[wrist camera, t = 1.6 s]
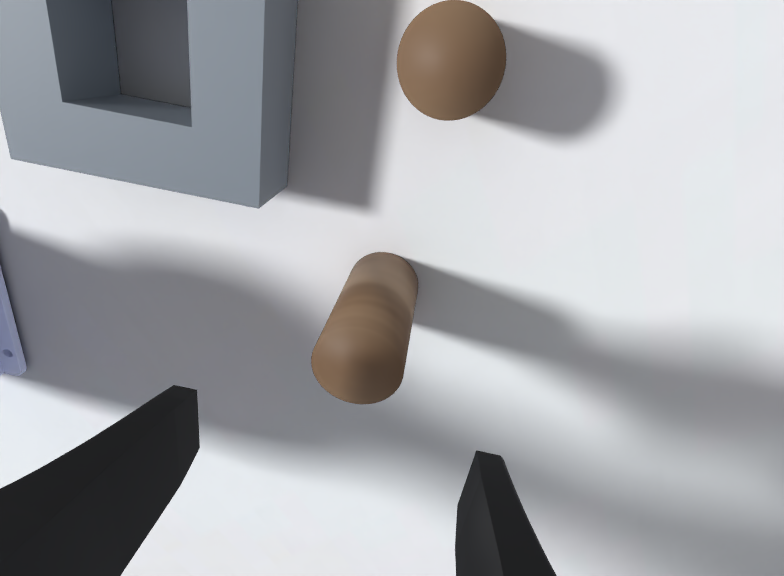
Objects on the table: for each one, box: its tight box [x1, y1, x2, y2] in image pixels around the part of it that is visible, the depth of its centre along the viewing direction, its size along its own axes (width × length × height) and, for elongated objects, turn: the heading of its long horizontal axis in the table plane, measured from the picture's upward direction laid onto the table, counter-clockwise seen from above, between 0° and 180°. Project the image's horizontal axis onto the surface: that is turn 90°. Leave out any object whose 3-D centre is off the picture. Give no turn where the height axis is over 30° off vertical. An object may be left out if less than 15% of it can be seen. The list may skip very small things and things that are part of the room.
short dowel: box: [397, 0, 506, 120], centre depth 14 cm, size 3×3×4 cm
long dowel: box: [311, 252, 418, 404], centre depth 18 cm, size 3×3×6 cm
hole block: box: [0, 0, 298, 208], centre depth 15 cm, size 9×9×3 cm
